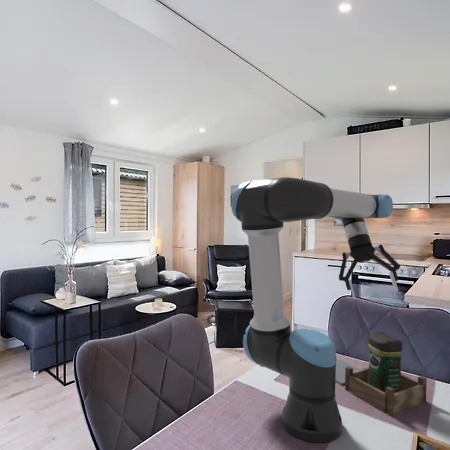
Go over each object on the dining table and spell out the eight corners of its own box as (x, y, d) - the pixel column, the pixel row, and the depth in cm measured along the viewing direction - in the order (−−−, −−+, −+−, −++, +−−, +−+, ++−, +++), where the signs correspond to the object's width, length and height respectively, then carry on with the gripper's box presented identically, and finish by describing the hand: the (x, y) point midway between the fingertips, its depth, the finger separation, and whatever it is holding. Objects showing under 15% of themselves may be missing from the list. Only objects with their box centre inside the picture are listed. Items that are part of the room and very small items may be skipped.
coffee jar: (407, 402, 101) (408, 339, 101) (383, 405, 100) (384, 341, 99) (385, 386, 111) (386, 329, 110) (363, 388, 109) (364, 330, 109)
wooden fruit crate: (389, 415, 94) (390, 390, 94) (345, 389, 109) (345, 367, 108) (426, 401, 102) (426, 378, 101) (379, 378, 116) (380, 358, 116)
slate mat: (341, 385, 111) (341, 383, 111) (311, 368, 124) (311, 366, 124) (371, 376, 118) (371, 374, 118) (340, 361, 130) (340, 359, 130)
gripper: (393, 231, 124) (413, 289, 116) (323, 247, 131) (338, 303, 123) (395, 225, 118) (417, 286, 110) (322, 241, 124) (337, 300, 116)
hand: (375, 295), depth 116 cm, fingers open, 13 cm apart
